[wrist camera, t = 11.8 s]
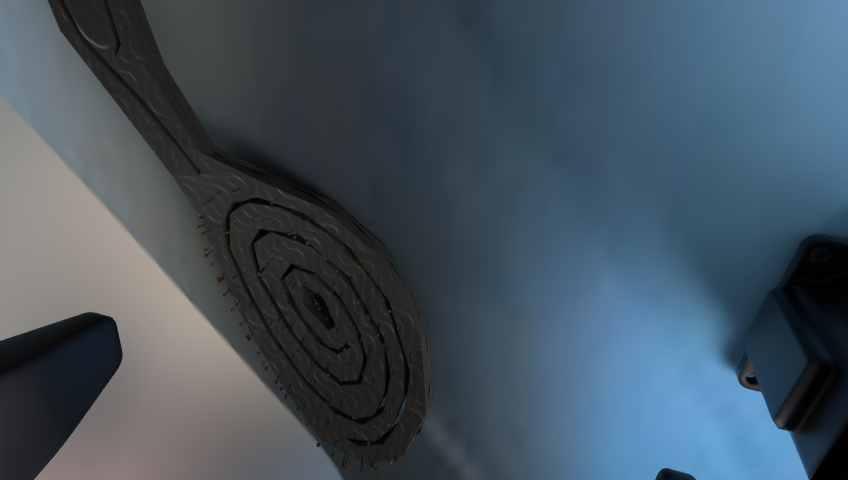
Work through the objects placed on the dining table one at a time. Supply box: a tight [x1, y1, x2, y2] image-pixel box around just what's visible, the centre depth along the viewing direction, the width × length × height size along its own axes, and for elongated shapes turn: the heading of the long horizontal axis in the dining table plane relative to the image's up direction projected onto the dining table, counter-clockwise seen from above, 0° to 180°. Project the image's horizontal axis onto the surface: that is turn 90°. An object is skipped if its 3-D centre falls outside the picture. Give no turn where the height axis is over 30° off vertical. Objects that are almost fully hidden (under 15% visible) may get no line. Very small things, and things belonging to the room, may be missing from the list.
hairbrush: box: [48, 0, 433, 472], centre depth 22 cm, size 8×4×25 cm
